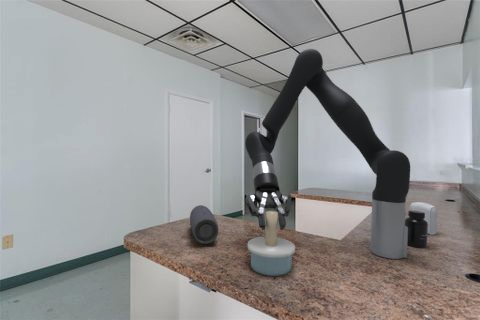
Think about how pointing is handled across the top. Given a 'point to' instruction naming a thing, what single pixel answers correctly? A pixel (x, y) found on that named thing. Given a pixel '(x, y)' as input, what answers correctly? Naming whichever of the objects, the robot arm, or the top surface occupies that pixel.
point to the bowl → (271, 265)
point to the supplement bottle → (417, 229)
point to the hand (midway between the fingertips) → (273, 228)
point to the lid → (271, 240)
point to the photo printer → (427, 215)
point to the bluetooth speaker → (203, 224)
